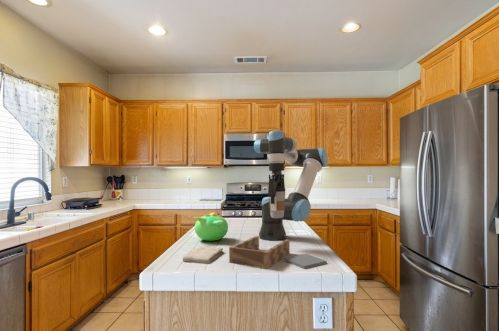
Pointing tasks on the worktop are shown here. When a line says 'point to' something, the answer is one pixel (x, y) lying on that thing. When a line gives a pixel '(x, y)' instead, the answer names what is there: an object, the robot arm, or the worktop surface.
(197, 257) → the washcloth
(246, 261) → the u-shaped wooden frame
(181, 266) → the worktop surface
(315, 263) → the coaster
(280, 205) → the coffee cup
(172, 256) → the worktop surface
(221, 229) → the toy bird
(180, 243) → the worktop surface
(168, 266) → the worktop surface
